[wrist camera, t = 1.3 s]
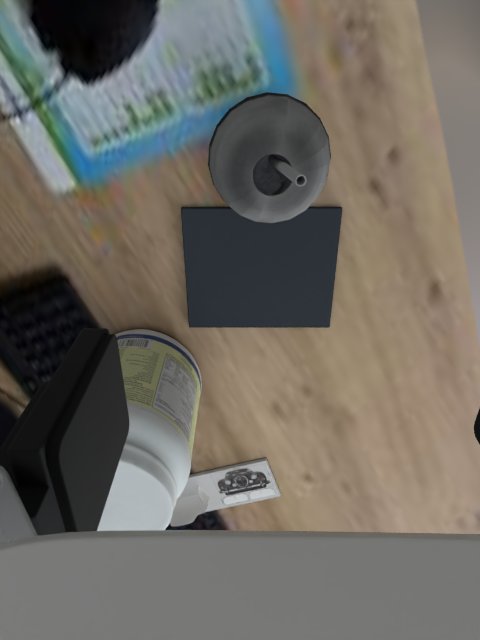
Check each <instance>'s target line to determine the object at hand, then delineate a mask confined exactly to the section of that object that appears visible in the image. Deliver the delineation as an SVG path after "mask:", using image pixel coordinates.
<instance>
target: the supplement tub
mask: <svg viewBox="0 0 480 640" xmlns="http://www.w3.org/2000/svg"><path fill="white" fill-rule="evenodd" d="M115 335H116V337H117V341H118V347H119V354H120V361H121V367H122V374H123V380H124V387H125V394H126V400H127V407H128V414H129V432H128V436H127V439H126V442H125V445H124V448H123V451H122V454H121V458H120V461H119V464H118V467H117V470H116V473H115V476H114V479H113V482H112V486H111V489H110V492H109V495H108V498H107V501H106V504H105V507H104V510H103V514H102V517H101V520H100V523H99V526H98V529H97V531H124V530H165V529H166V528H167V526H168V525H169V523H170V521H171V518H172V514H173V509H174V507H175V505H176V501H177V498H178V497H179V496H180V495H181V493H182V492H183V490H184V488H185V486H186V484H187V481H188V477H189V474H190V468H191V457H192V449H193V441H194V434H195V427H196V420H197V413H198V406H199V399H200V394H201V388H202V381H201V374H200V371H199V368H198V365H197V363H196V361H195V359H194V358H193V356H192V355H191V354H190V352H189V351H188V350H187V349H186V348H185V347H184V346H183V345H181V344H180V343H179V342H178V341H176V340H174V339H173V338H171V337H169V336H167V335H165V334H162V333H159V332H156V331H152V330H146V329H135V330H128V331H124V332H121V333H118V334H115Z"/></svg>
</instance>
